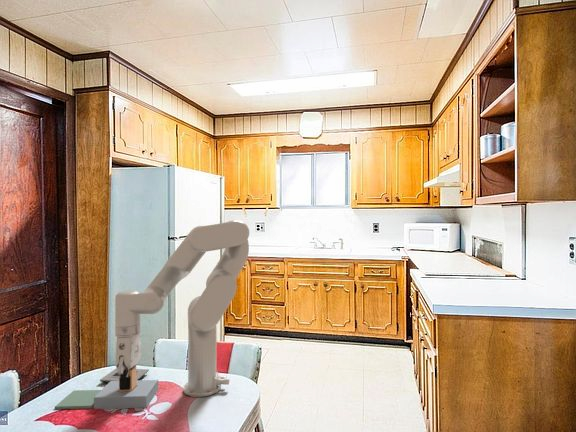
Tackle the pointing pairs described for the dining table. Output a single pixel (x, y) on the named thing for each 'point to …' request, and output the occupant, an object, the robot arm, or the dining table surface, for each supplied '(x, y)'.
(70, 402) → the mat
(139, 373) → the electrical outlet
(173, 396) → the dining table surface
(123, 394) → the grey socket block
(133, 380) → the plug
